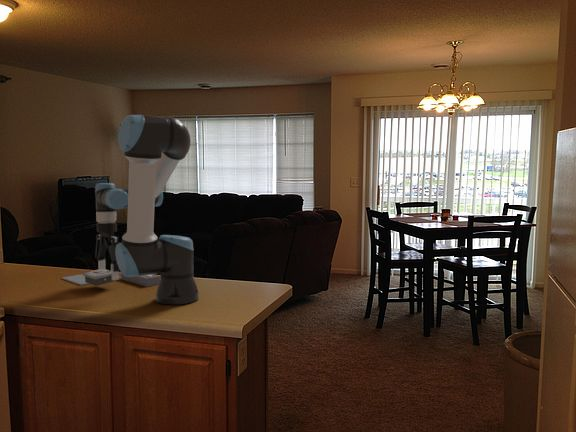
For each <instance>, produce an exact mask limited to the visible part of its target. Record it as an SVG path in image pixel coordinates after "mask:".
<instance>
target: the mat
mask: <svg viewBox="0 0 576 432" xmlns="http://www.w3.org/2000/svg"><path fill="white" fill-rule="evenodd" d="M61 279H62V280H63V281H66V282H70V283H71V284H72V283H73V284H75V285H78V286H81V287H82V286H88V285H90V284H89V283H86V282H85V276H83V273H82V274H81V273H80V274H75V275H71V276H69V275H68V276H63V277H61ZM105 280H106V279H105ZM118 280H122V279H121V276H119V279H118Z"/></svg>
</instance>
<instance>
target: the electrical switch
mask: <svg viewBox="0 0 576 432" xmlns="http://www.w3.org/2000/svg"><path fill="white" fill-rule="evenodd" d="M82 274H83V276H85V282H86V283H89V285H93V286H101V285H105V284H108V283H113V282H115V280H111V270H109V269H95V270H91V271H86V272H82ZM105 279H106V280H105Z"/></svg>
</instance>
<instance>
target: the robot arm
mask: <svg viewBox="0 0 576 432" xmlns="http://www.w3.org/2000/svg"><path fill="white" fill-rule="evenodd" d="M118 128H119V129H118V133H117V134H118V135H117V142H118V148H119V150H120V151H122V152H124V157H125V158H126V160H127V161H128V188H116V184H115V183H114V182H113V183H112V182H111V183H110V182H103V183H101V182H100V183H96V184H95V187H94V189H95V190H94V194H95V211H96V213H95V215H96V216H95V218H96V220H95V221H96V232H97V233H99V234H96V236H95V240H96V241H95V242H96V243H95V249H94V250H95V252H94V257H95V259H96V260H97V261H98V262H97V263H98V264H97V265H98V269H97V270H99V269H106V265H107V264H106V252H107V250H108V253H109V256H110V260H111V262H110V271H111V280H114V281H116V280H120V279H119V277H120V276H119V274H121V273H122V274H123V275H124V276H126V277H133V276H136V277H138V276H143V275H150V274H153V275H157V274H160V283H159V285H157V290H156V293H155V302H157V303H158V304H163V305H185V304H191V303H194V302H196V301H198V300H199V297H200V295H199V294H200V293H199V289H198V286H197V284H196V281H195V277H194V251H195V250H194V242H193V239H191V238H190V237H187V236H182V235H172V234H162V235H160V236H159V237H158V236H157V235H156V234H155V232H154V230H155V229H154V227H155V225H154V224H155V223H154V222H155V207H161V205H162V204H163V200H164V193H163V190H164V188H165V186H166V184H167V183H168V181H169V180H170V178H171V176H172V174H173V172H175V170H176V167H177V166H178V164H179V163H180V161H182V160H183V159H185V158H186V156H187V154H188V153H189V151H190V148H191V136H190V135H191V134H190V132H189V129H188V128H187V126H186V125H185V124H184V123H183V122H182V121H181V120H179V119H177V118H175V117H172V116H158V115H146V114H145V115H144V114H128V115H126V116H125V117H124V118H123V120H122V121H121V123H120V126H119V127H118ZM121 209H127V217H126V218H127V223H126V226H127V227H126V233H124V234H123V235H122V237H121V242H120V240H119V239H120V238H119V236H115V233H116V232H118V225H117V224H118V223H117V222H116V221H117V210H121ZM106 270H107V269H106ZM119 272H120V273H119Z"/></svg>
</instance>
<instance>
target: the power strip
mask: <svg viewBox="0 0 576 432" xmlns="http://www.w3.org/2000/svg"><path fill="white" fill-rule="evenodd" d="M120 277H121V279H120V280H123V281H126V282H130V283H132V284H136V285H140V286H142V287H146V288H148V287H153V286H159V283H160V279H161V275H157V274H150V275H143V276H138V277H136V276H133V277H126V276H124V275H123V274H122V273H121V272H120Z"/></svg>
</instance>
